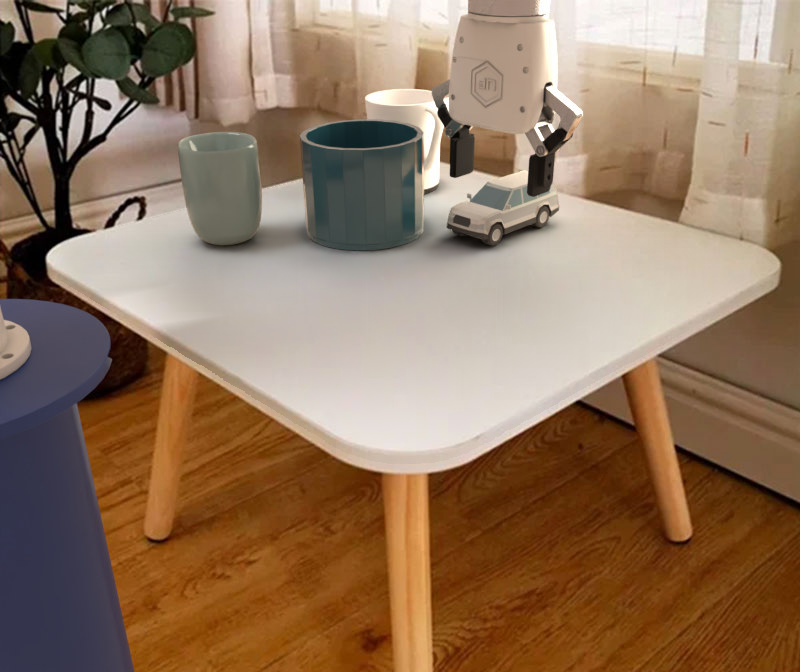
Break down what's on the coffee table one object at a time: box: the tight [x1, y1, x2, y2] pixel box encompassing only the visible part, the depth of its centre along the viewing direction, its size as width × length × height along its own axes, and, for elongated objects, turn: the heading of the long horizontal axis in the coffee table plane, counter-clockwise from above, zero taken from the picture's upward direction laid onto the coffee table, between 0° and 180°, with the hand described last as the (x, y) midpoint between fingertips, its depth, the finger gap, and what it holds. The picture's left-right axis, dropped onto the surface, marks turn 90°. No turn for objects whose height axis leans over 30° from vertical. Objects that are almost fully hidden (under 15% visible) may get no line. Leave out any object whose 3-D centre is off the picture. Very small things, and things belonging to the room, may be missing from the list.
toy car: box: [446, 169, 560, 246], centre depth 97 cm, size 6×13×5 cm, turn 134°
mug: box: [364, 88, 445, 195], centre depth 109 cm, size 11×9×10 cm
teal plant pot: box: [299, 118, 425, 251], centre depth 96 cm, size 12×12×10 cm
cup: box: [177, 131, 263, 246], centre depth 94 cm, size 8×8×10 cm
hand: (498, 183), depth 95 cm, fingers open, 9 cm apart
